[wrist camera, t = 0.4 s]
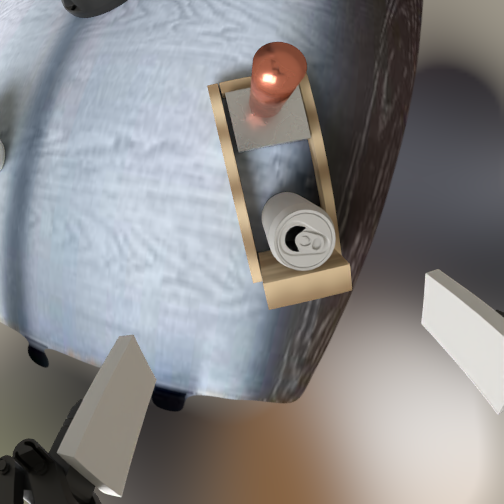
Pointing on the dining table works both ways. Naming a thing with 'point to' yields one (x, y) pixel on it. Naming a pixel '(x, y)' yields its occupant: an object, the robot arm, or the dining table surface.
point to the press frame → (336, 267)
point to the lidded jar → (2, 155)
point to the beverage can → (298, 231)
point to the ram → (270, 100)
